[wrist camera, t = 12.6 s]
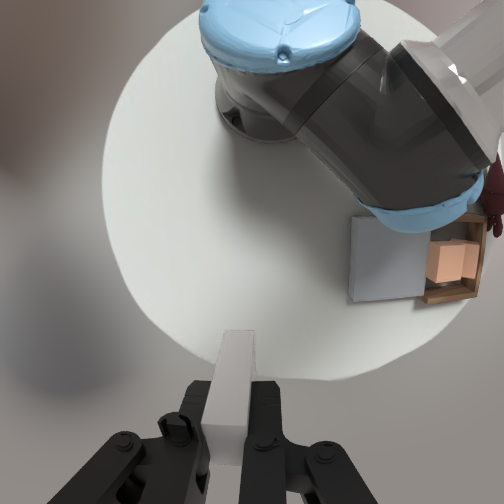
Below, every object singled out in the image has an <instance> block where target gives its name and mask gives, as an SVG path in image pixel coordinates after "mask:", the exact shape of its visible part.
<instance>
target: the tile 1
mask: <svg viewBox="0 0 504 504" xmlns="http://www.w3.org/2000/svg"><path fill="white" fill-rule="evenodd" d="M464 253H465V245H464V244H461V243H458V242H456V241H429V245H428V256H427V265H426V273H425V277H427V278H428V279H430V280H432V281H433V282H435V283H440V282H448V281H456V280H461V275H462V268H463V261H464Z"/></svg>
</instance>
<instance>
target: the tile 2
mask: <svg viewBox="0 0 504 504" xmlns="http://www.w3.org/2000/svg"><path fill="white" fill-rule="evenodd" d="M450 241H456V242H458V243H461V244H464V245H465V253H464V261H463V268H462V275H461V277H466V278H472V279H475V275H476V269H477V263H478V255H479V247H480V245H479V243H478V242H474V241H467V240H460V239H453V238H450Z"/></svg>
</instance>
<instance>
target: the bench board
mask: <svg viewBox="0 0 504 504" xmlns="http://www.w3.org/2000/svg"><path fill="white" fill-rule="evenodd" d="M430 239H431V231H427V232H423V233H412V234H410V233H401V232H397V231H394V230H392V229H390V228H389V227H386V226H385V225H384V224H382V223H381V222H380V221H379V220H378V218H377V217H375V216H351V252H350V271H349V286H348V295H349V297H350V298H351V299H352V301H353V302H361V301H373V300H384V299H395V298H405V297H414V296H423V295H424V290H425V283H426V277H425V273H426V265H427V256H428V245H429V241H430Z"/></svg>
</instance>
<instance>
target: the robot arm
mask: <svg viewBox="0 0 504 504" xmlns="http://www.w3.org/2000/svg"><path fill="white" fill-rule="evenodd" d="M360 22H361V19H360V12H359V9H358V8H357V7H356V6H355V0H204V2H203V4H202V6H201V8H200V13H199V29H200V33H201V42H202V44H203V48H204V49H205V50H206V53H207V54H208V55H209V57H210V59H211V61H212V63H213V65H214V67H215V69H216V72H217V74H218V77H217V81H216V86H215V98H216V103H217V106H218V109H219V111H220V113H221V115H222V116H223V118H224V119H225V121H226V122H227V124H228V125H229V126H230V127H231V128H232V129H233V130H235V131H236V132H237V133H239V134H240V135H242V136H244V137H246V138H248V139H251V140H253V141H257V142H262V143H282V142H286V141H290V140H293V139H295V138H298V139H299V140H300V141H301V142H302V143H303V144H304V145H306V146H307V147H308V148H309V149H310V150H311V151H312V152H313V153H314V154H315V155H316V156H317V157H318V158H319V159H320V160H321V161H322V162H323V163H325V164H326V165H327V166H328V167H329V168H330V169H331V170H332V171H333V172H334V173H335V174H336V175H337V176H338V177H339V178H340V179H341V180H342V181H343V183H344V184H345V185H346V186H347V187H348V188H349V189H350V190H351V191H352V192H353V193H354V197H355V198H356V200H357V201H358V202H359V203H360V204H361V205H362V206H364V207H365V208H367V209H369V210H370V211H371V212H372V213H373V214H374V215H375V216H376V217H377V218H378V220H379V221H380V222H381V223H382V224H384V225H385V226H386V227H389V228H390V229H392V230H394V231H397V232H401V233H410V234H412V233H423V232H427V231H431V230H435V229H438V228H440V227H443V226H445V225H447V224H449V223H451V222H453V221H454V220H456V219H457V218H459V217H460V216H462V215H463V214H464V213H465V212H466V211H467V205H468V204H473V203H475V202H476V200H477V199H478V197H479V196H480V194H481V192H482V189H483V184H484V176H483V169H484V168H486V167H487V166H489V165H491V164H492V163H494V162H495V161H496V156H497V150H498V144H499V139H500V136H501V134H502V133H503V132H504V0H483V1H481V2H480V3H479V4H478V5H476V6H475V7H474V8H472V9H471V10H470V11H469V12H467V13H466V14H465V15H464V16H463V17H462V18H460V19H459V20H458V21H456V22H455V23H454V24H453V25H452V26H450V27H449V28H448V29H447V30H446V31H444V32H443V33H442V34H441V35H440V36H438V37H437V38H436V39H435V40H433V41H431V42H420V41H412V40H402V41H401V42H400V43H399V44H398V45H397V46H396V47H395V48H394V49H392V50H391V51H390V52H388V51H386V50H385V49H384V48H383V47H382V46H381V45H380V44H379V43H377V42H376V41H375V40H374V39H373V38H372V37H370V36H369V35H368V34H367V33H366V32H365V31H363V30H362V29H361V28H360V27H361V25H360ZM255 375H256V367H255V344H254V330H225V332H224V336H223V340H222V344H221V348H220V351H219V355H218V359H217V363H216V367H215V370H214V374H213V378H212V381H199V380H195V381H193V382H192V383H191V384H190V385H189V386H188V388H187V390H186V393H185V397H184V398H183V401H182V404H181V407H180V410H179V412H172V413H168V414H166V415H164V416H162V417H161V418H160V419H159V421H158V425H159V428H160V430H161V432H162V435H163V436H162V437H158V438H150V439H140V437H139V436H138V435H137V434H135V433H133V432H129V431H121V432H118V433H116V434H114V435H113V436H111V437H110V439H109V440H108V441H107V442H106V443H105V444H104V445H103V446H102V447H101V448H100V449H99V450H98V451H97V452H96V453H95V454H94V455H93V457H92V458H91V459H90V460H89V461H88V462H87V463H86V464H85V465H84V466H83V467H82V468H81V469H80V470H79V471H78V472H77V473H76V474H75V475H74V477H72V478H71V479H70V481H69V482H68V483H67V484H66V485H65V486H64V487H63V488H62V489H61V490H60V491H59V492H58V493H57V494H56V495H55V496H54V497H53V498H52V499H51V500H50V501H49V502H48V503H47V504H205V501H206V495H207V489H208V484H209V478H210V471H209V462H210V460H211V463H212V464H217V465H233V466H242V473H241V484H240V494H239V504H286V491H291V492H296V493H300V495H301V497H302V499H303V502H304V504H378V503H377V501H376V500H375V498H374V497H373V495H372V494H371V492H370V490H369V489H368V487H367V485H366V484H365V482H364V481H363V479H362V477H361V476H360V474H359V473H358V471H357V469H356V468H355V466H354V465H353V463H352V461H351V460H350V458H349V457H348V455H347V453H346V452H345V450H344V449H343V448H342V447H341V446H340V445H339V444H337V443H335V442H331V441H322V442H317V443H315V444H313V445H311V446H310V447H307V446H301V445H297V444H294V443H292V442H290V441H289V440H288V439H286V438H285V436H284V434H283V431H282V418H281V417H282V416H281V399H280V388H279V386H278V385H277V384H276V382H275V381H255Z"/></svg>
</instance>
